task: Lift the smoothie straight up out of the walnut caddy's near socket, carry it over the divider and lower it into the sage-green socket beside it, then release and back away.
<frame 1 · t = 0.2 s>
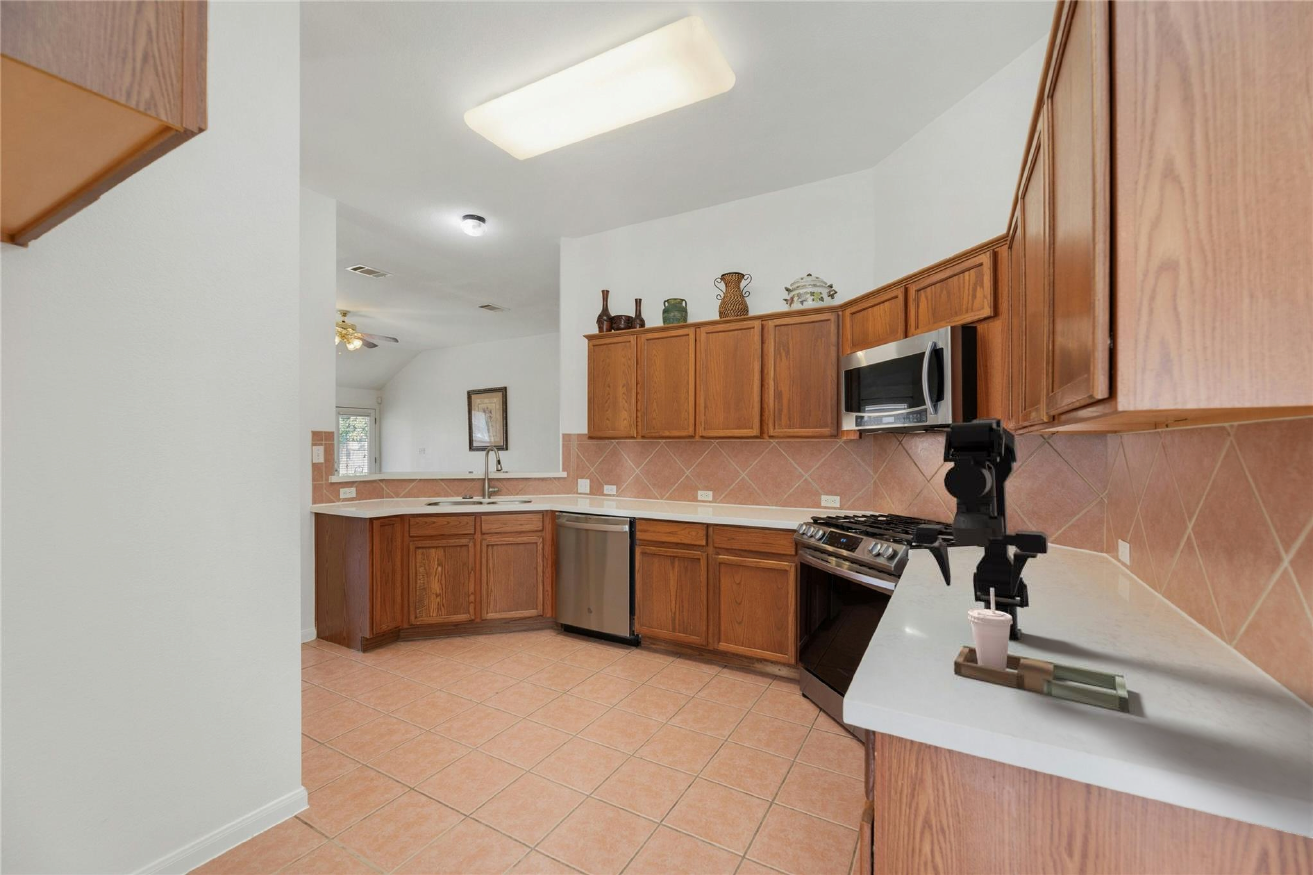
hand: (979, 589, 86), 14 cm above the countertop, tool pointing down, fingers open, 9 cm apart
smoothie: (992, 673, 87), resting in caddy
caddy: (1036, 681, 83), on the countertop
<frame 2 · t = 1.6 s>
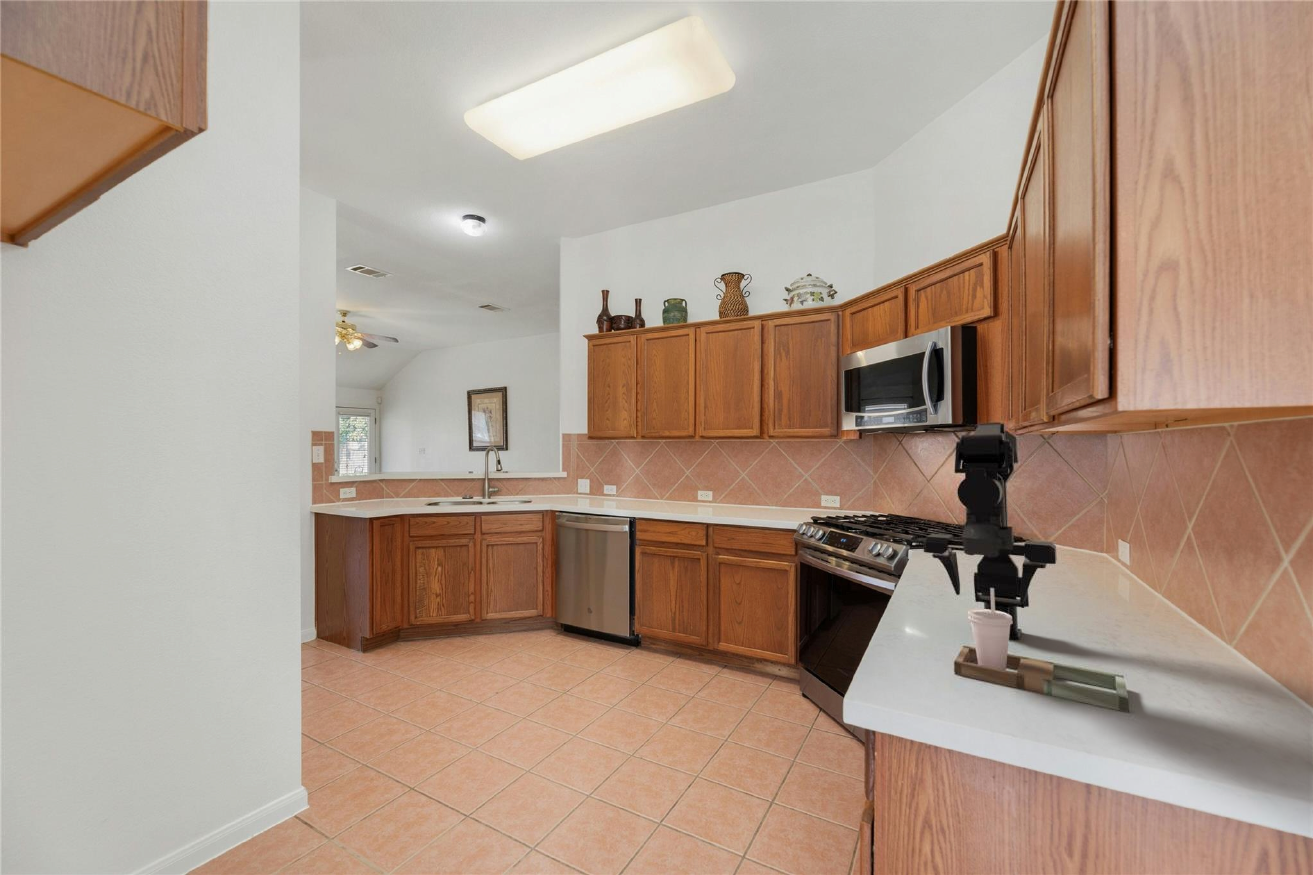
hand: (989, 598, 87), 12 cm above the countertop, tool pointing down, fingers open, 9 cm apart
nothing on the countertop moved.
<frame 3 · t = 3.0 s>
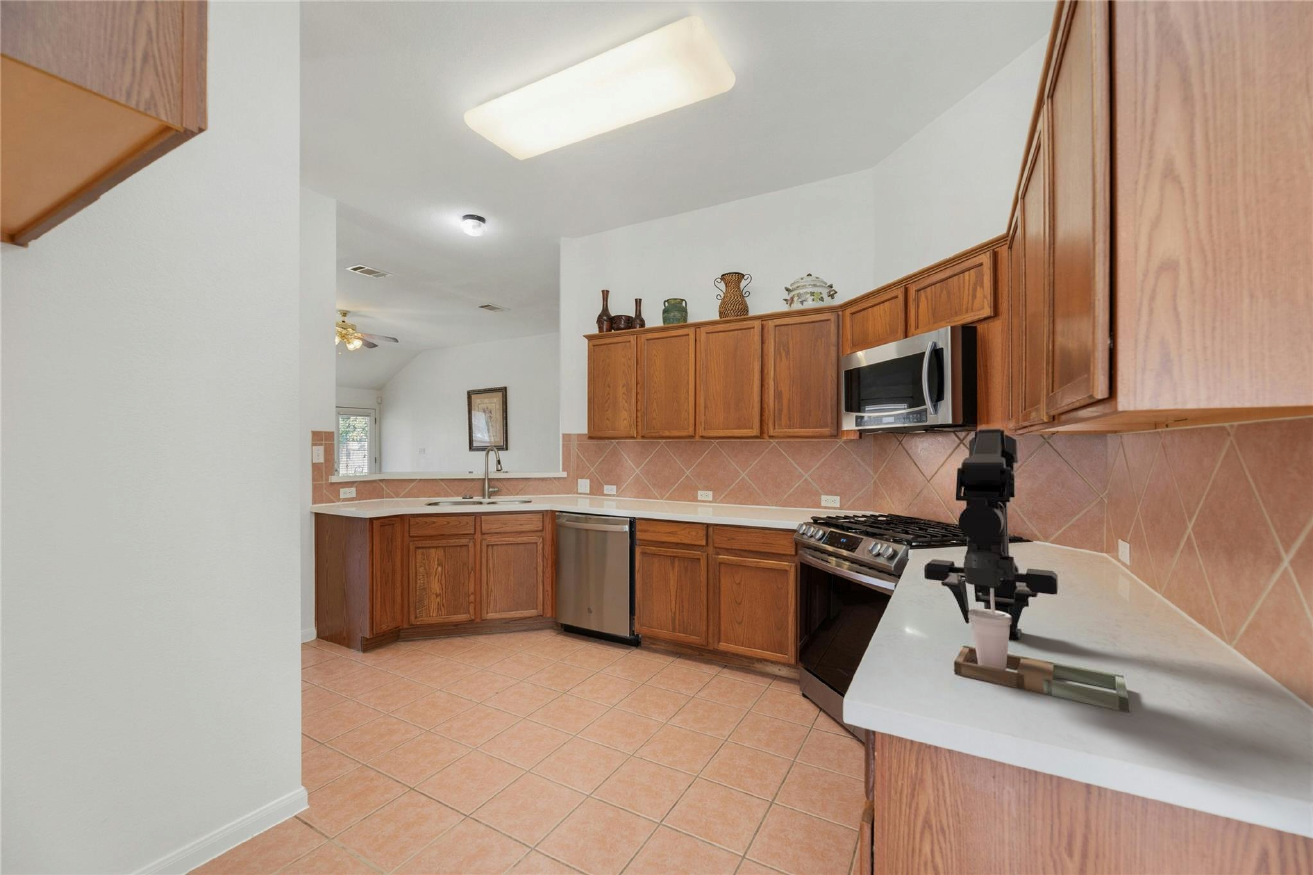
hand: (990, 626, 87), 8 cm above the countertop, tool pointing down, fingers closed on smoothie, 6 cm apart
smoothie: (992, 673, 87), resting in caddy, touching gripper
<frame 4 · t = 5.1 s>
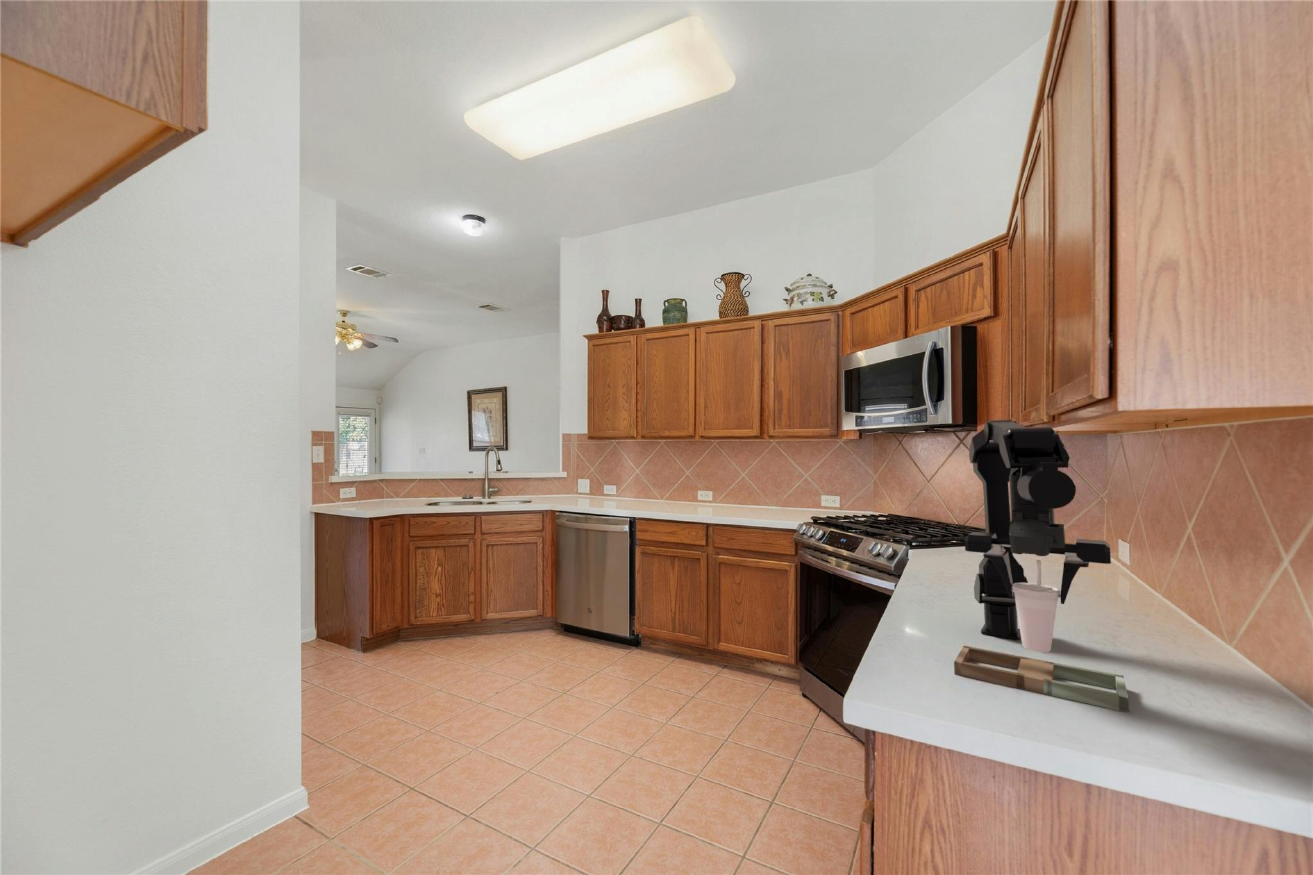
hand: (1036, 600, 83), 13 cm above the countertop, tool pointing down, fingers closed on smoothie, 6 cm apart
smoothie: (1036, 648, 83), point 5 cm above the countertop, touching gripper
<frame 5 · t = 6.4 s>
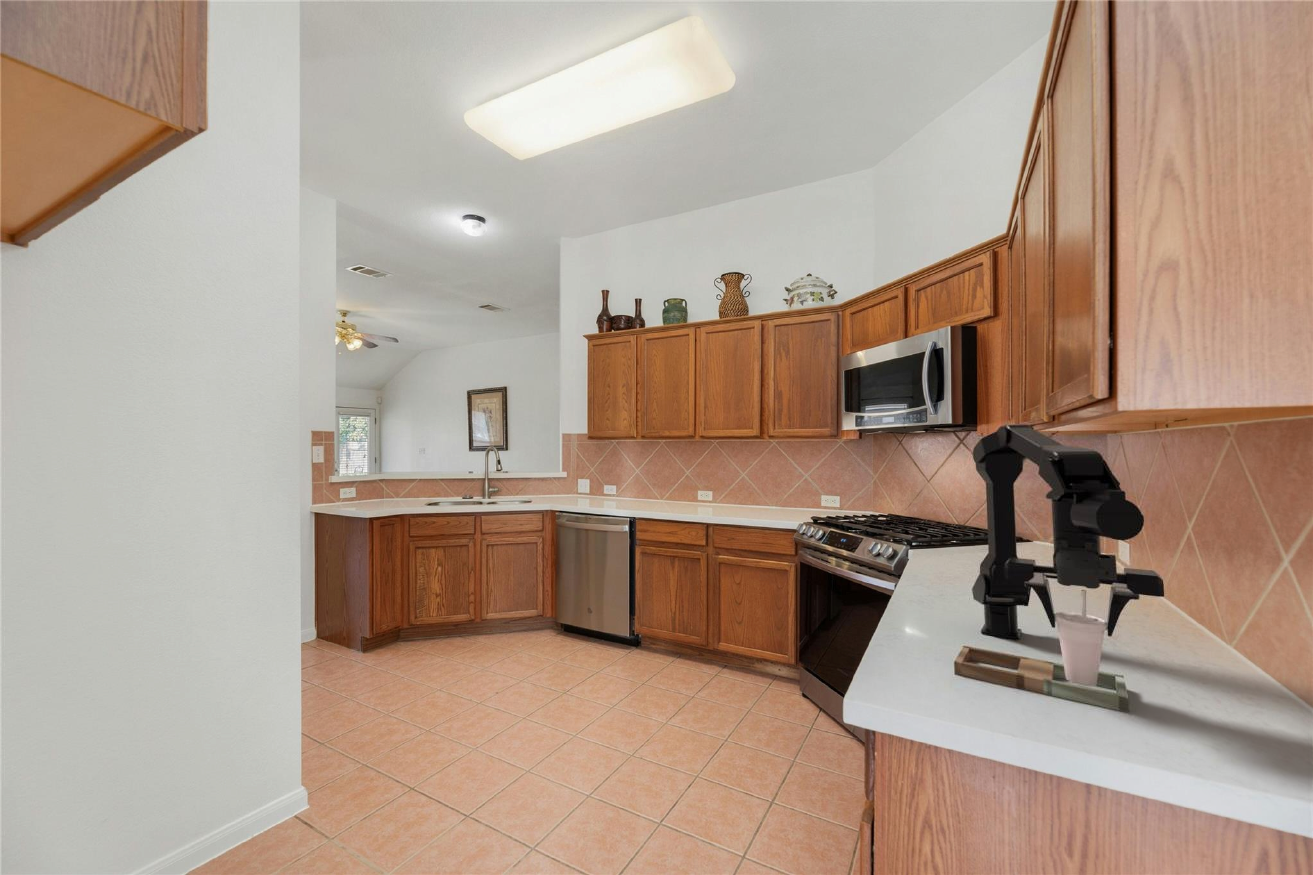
hand: (1080, 631, 80), 9 cm above the countertop, tool pointing down, fingers closed on smoothie, 6 cm apart
smoothie: (1080, 682, 79), point 1 cm above the countertop, touching gripper
when the fingers open (9 cm above the countertop, at t = 7.4 s): smoothie drops 1 cm, resting in caddy.
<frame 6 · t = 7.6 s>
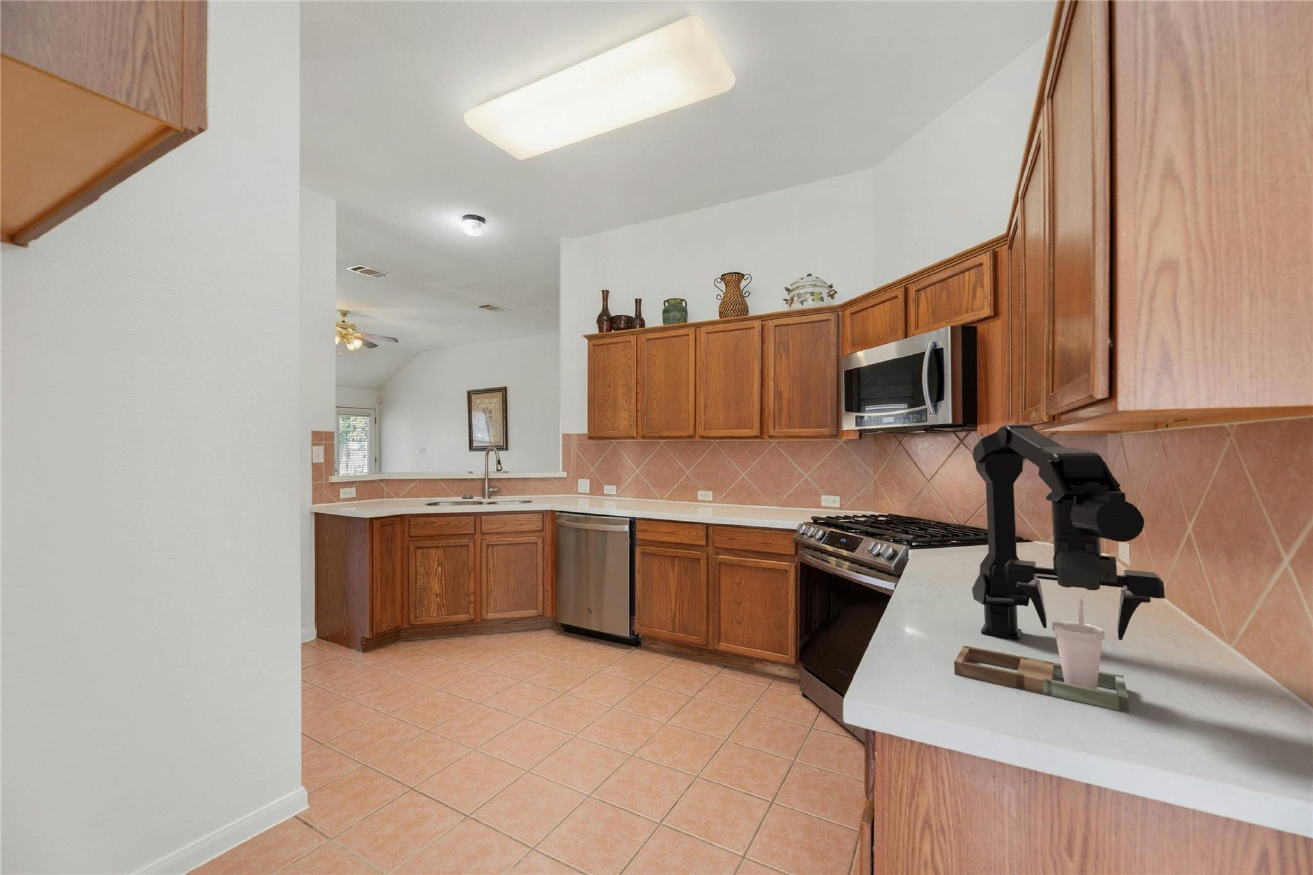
hand: (1081, 633, 79), 9 cm above the countertop, tool pointing down, fingers open, 9 cm apart
smoothie: (1080, 691, 79), resting in caddy
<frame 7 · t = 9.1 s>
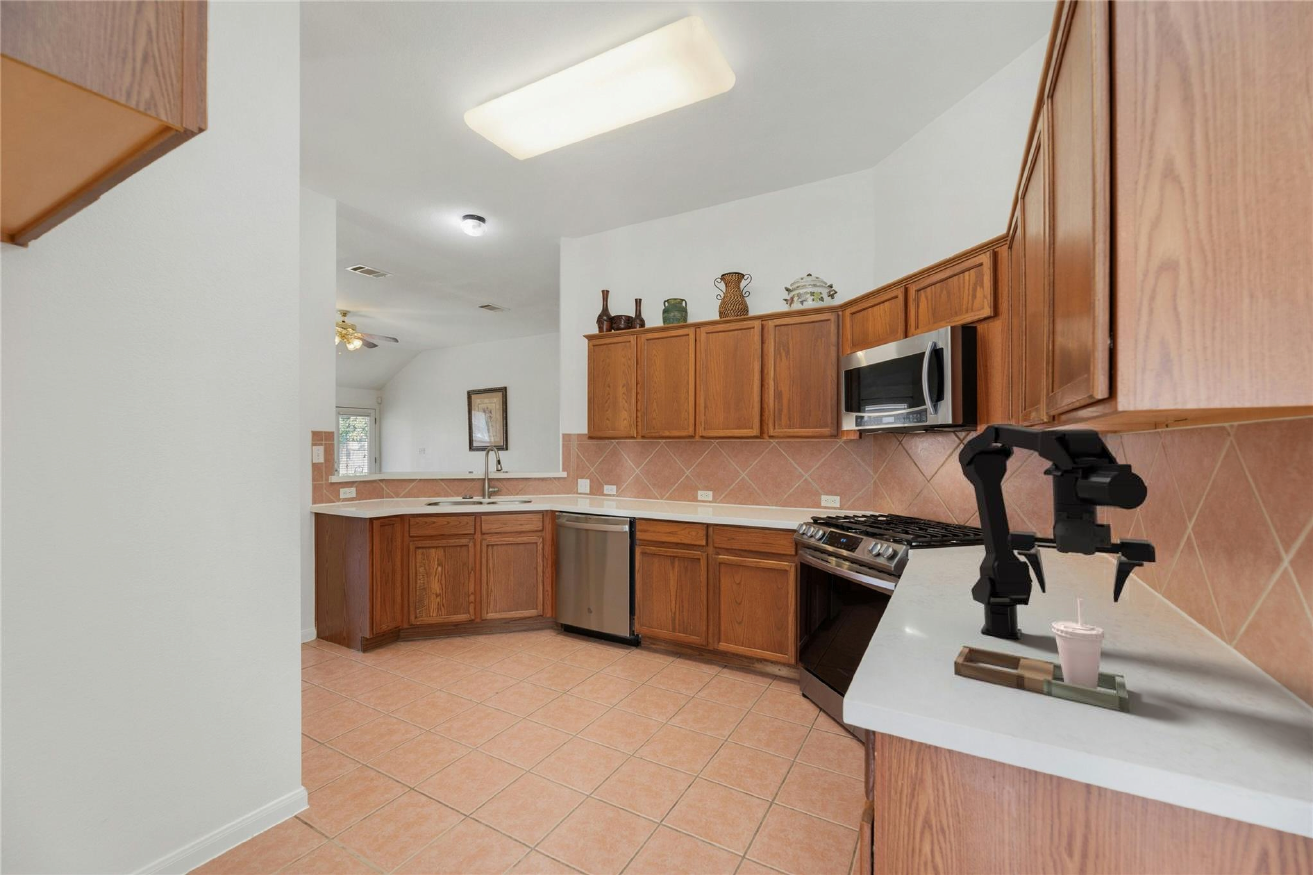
hand: (1078, 597, 85), 13 cm above the countertop, tool pointing down, fingers open, 9 cm apart
nothing on the countertop moved.
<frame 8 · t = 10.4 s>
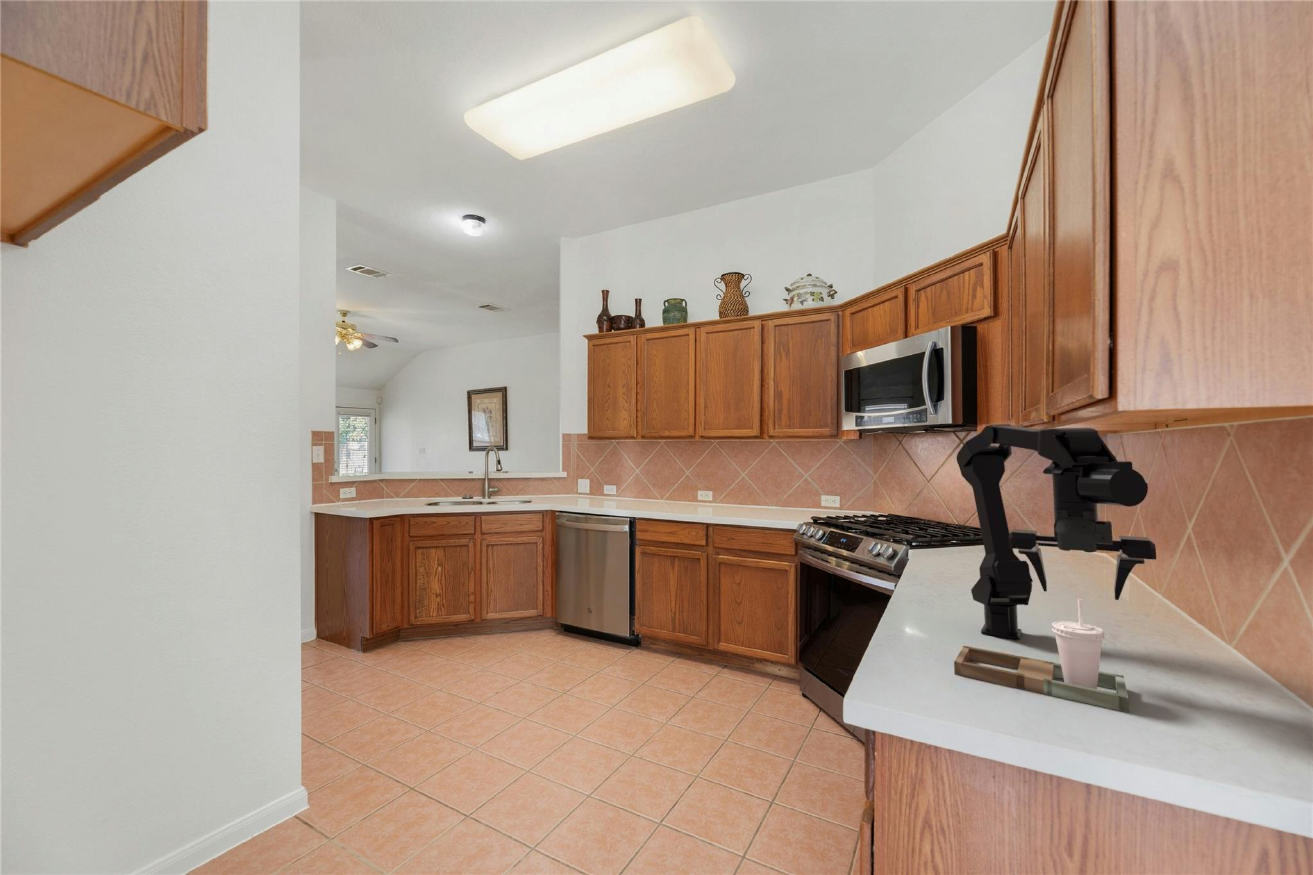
hand: (1079, 595, 86), 13 cm above the countertop, tool pointing down, fingers open, 9 cm apart
nothing on the countertop moved.
at the end: smoothie 0.5 cm from the target spot on the caddy, point 0.0 cm above the caddy's base; smoothie tilted 0°; the gripper is holding nothing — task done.
